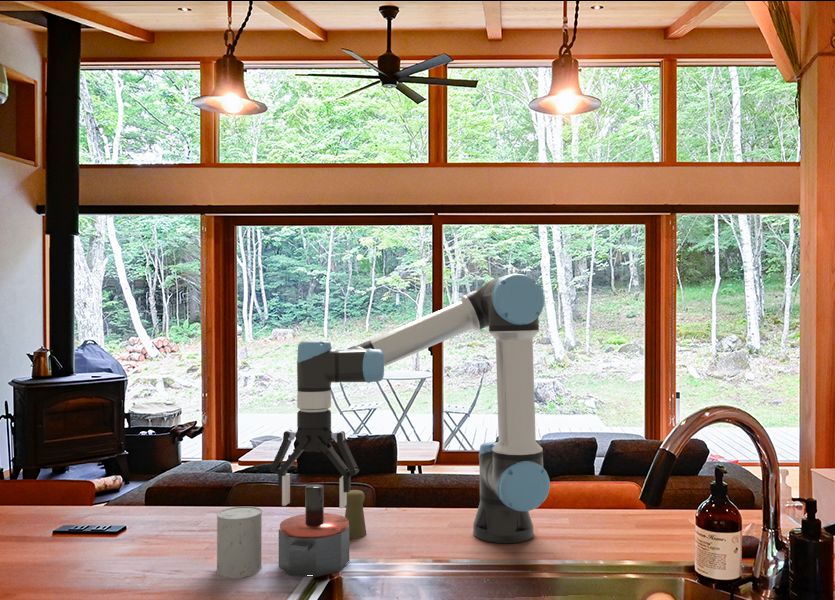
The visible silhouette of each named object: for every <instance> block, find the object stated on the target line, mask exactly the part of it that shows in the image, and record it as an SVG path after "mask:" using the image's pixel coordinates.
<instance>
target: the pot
mask: <svg viewBox="0 0 835 600" xmlns="http://www.w3.org/2000/svg"><path fill="white" fill-rule="evenodd" d="M348 561H349V562H350V538H349V527H348V529H347V530H346V531H344V532H342V533H340V534H338V535H334V536H330V537H324V538H314V539H302V538H293V537H289V536H286V535H284V534H282V533H281V532H280V528H279V529H278V568H280V569H281V570H282V571H283V572H285V573H286V574H287V575H289V576H296V577H297V576H298V577H308V576H307V575H313V576H314V577H313V578H318V577H321V576H326V575H329V574H335V573H339V572H342V571H343V569H344V568H345V567H346V566H345V564H346V563H347V562H348ZM349 562H348V563H349ZM348 563H347V564H348Z"/></svg>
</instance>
